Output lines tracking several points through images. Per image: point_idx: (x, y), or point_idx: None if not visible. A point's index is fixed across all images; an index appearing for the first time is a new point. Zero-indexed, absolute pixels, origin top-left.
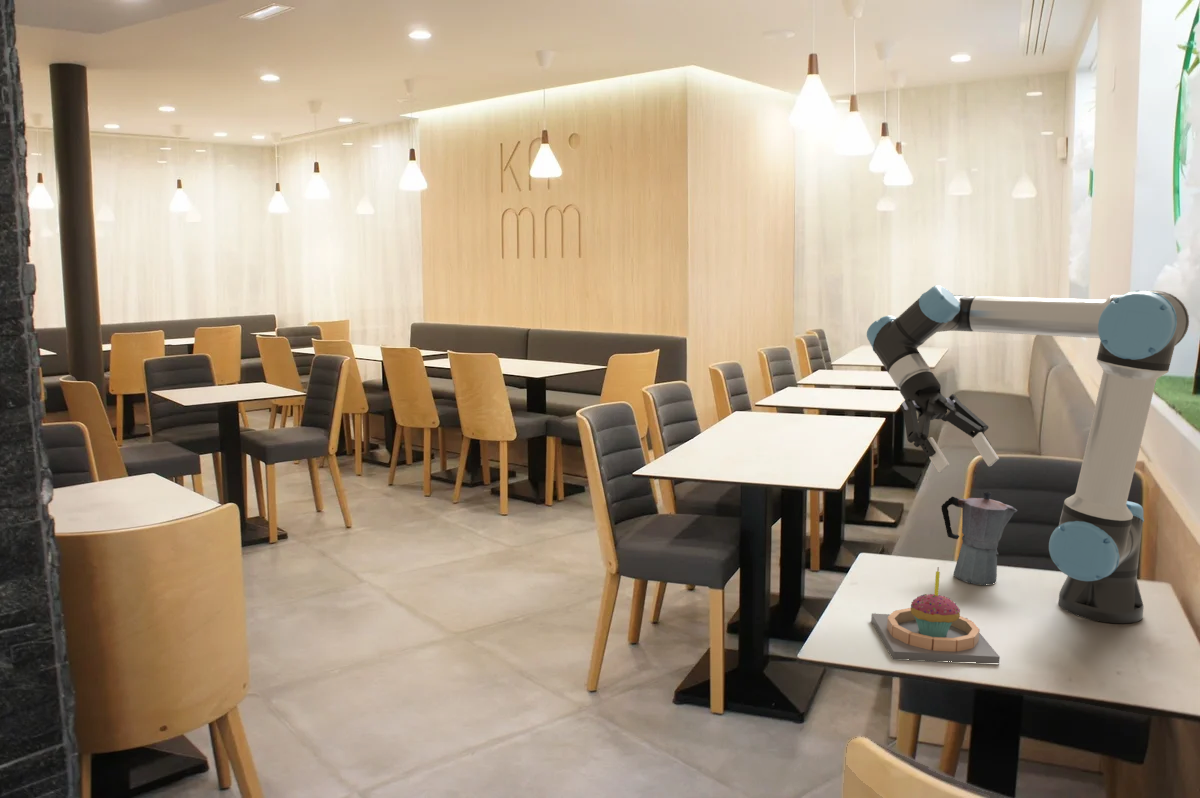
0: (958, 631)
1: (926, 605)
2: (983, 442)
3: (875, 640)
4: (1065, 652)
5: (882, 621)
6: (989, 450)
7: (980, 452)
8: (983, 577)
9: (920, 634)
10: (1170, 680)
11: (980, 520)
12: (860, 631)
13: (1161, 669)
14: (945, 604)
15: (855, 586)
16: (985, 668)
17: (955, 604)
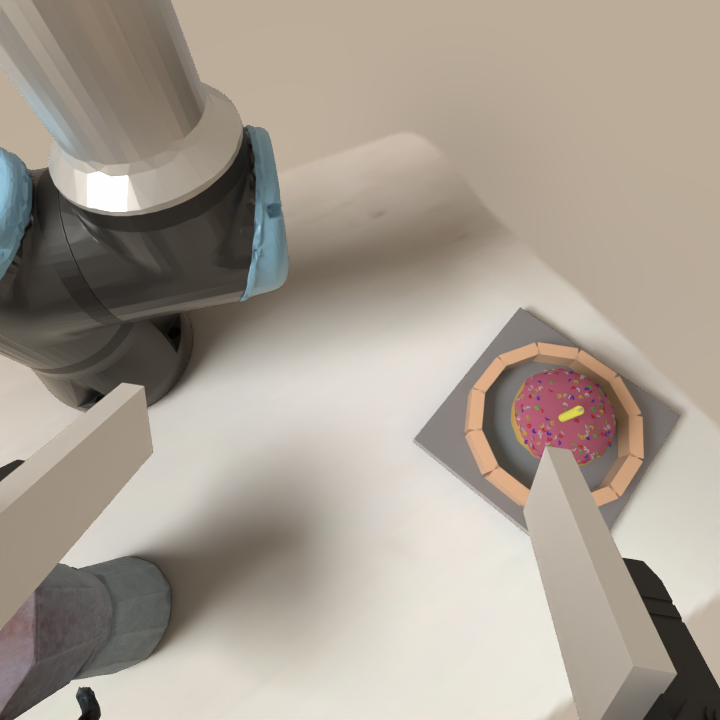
0: (490, 406)
1: (608, 408)
2: (51, 488)
3: (639, 495)
4: (373, 285)
5: None
6: (103, 434)
7: (93, 513)
8: (147, 569)
9: (622, 401)
10: (342, 171)
11: (64, 610)
12: (636, 545)
13: (313, 191)
14: (577, 381)
15: None
16: (546, 317)
17: (540, 381)
